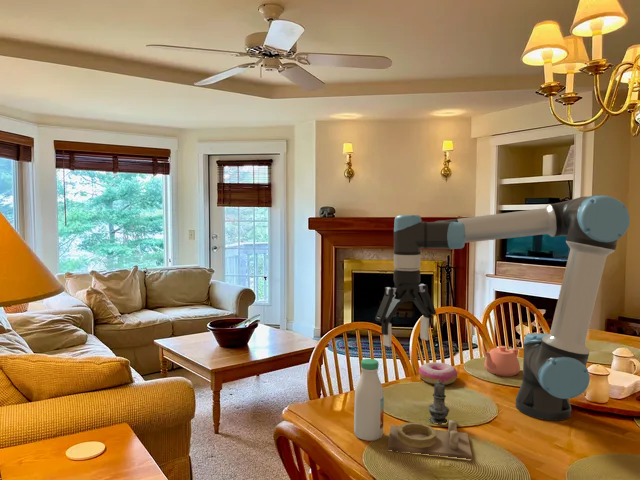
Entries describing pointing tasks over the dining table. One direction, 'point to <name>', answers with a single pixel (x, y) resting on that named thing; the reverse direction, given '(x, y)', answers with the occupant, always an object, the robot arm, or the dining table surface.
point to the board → (435, 448)
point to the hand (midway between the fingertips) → (406, 342)
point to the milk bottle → (369, 403)
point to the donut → (438, 373)
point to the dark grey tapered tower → (439, 405)
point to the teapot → (502, 361)
